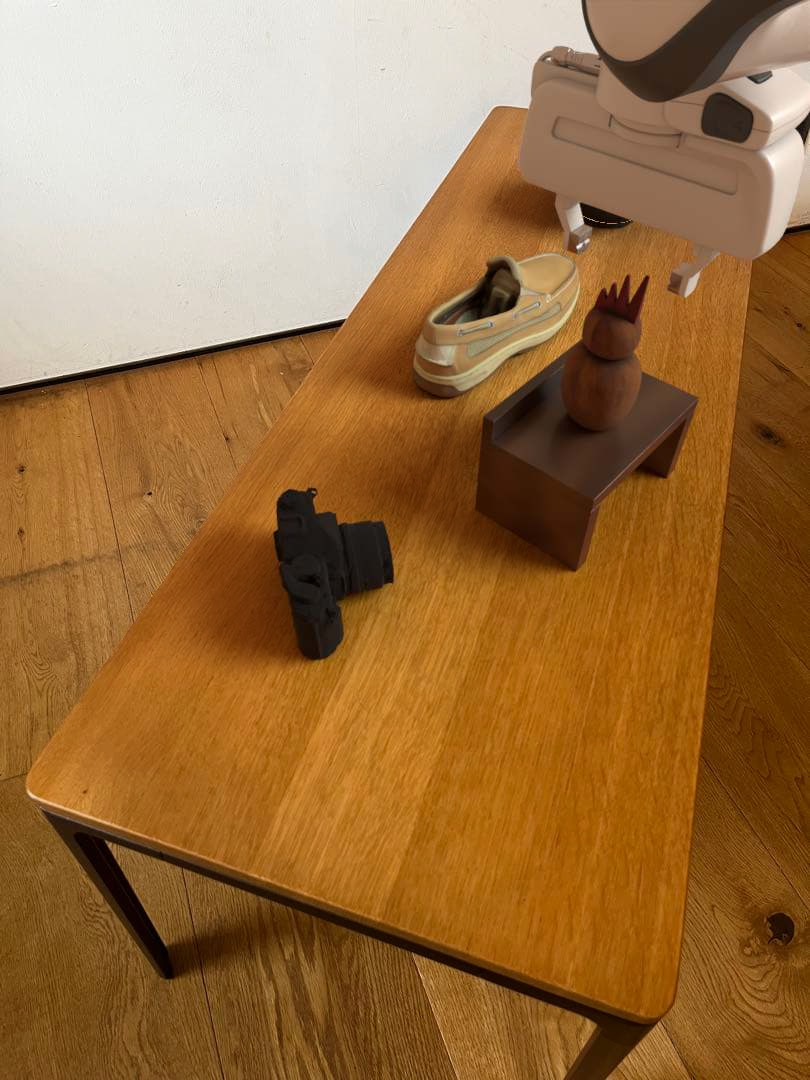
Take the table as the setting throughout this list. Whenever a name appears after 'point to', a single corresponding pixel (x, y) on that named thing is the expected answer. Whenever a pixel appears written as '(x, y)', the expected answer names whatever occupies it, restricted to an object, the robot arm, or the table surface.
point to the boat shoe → (495, 321)
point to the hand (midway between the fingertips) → (625, 270)
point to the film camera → (325, 567)
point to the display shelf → (570, 459)
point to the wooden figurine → (606, 360)
